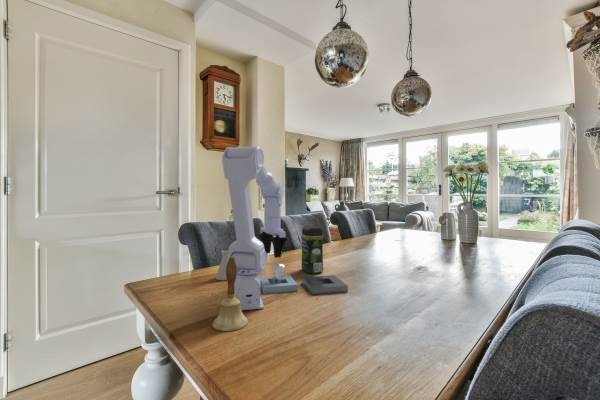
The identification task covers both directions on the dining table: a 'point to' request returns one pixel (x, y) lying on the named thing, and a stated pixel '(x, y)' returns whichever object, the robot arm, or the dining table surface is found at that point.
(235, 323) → the hand bell
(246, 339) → the dining table surface
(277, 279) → the steel peg
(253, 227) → the robot arm
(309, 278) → the socket block
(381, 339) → the dining table surface
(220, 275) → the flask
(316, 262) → the coffee jar
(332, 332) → the dining table surface
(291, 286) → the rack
